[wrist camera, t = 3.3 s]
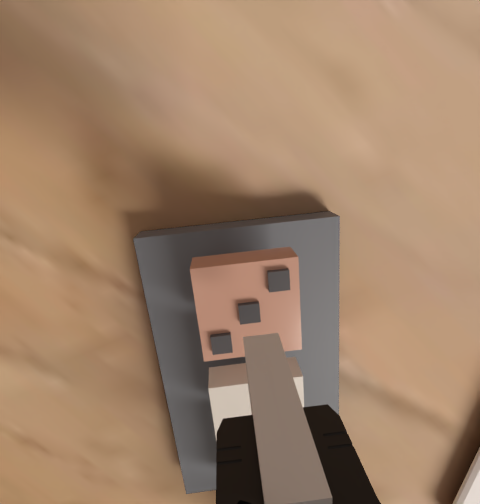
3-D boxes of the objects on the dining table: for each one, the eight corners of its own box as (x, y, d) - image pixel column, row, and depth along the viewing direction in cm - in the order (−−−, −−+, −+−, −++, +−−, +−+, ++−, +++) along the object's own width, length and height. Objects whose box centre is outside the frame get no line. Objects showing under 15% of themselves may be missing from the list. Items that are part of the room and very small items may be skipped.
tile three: (205, 342, 21) (204, 364, 18) (192, 257, 19) (189, 271, 17) (294, 331, 21) (303, 352, 19) (290, 246, 19) (299, 258, 17)
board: (188, 472, 30) (186, 493, 28) (140, 231, 22) (133, 238, 21) (330, 452, 30) (338, 472, 28) (329, 211, 23) (339, 216, 21)
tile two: (219, 434, 23) (219, 464, 21) (209, 367, 21) (208, 391, 19) (298, 423, 23) (306, 451, 21) (295, 356, 21) (304, 379, 19)
